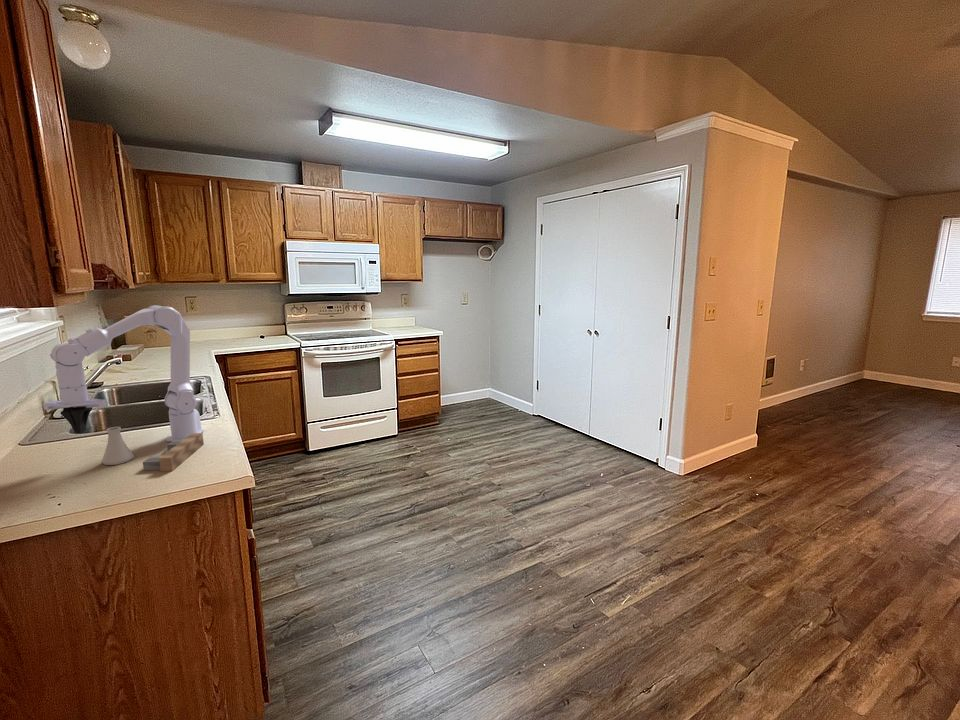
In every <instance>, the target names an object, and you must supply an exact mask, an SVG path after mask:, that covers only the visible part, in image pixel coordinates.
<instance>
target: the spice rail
mask: <svg viewBox="0 0 960 720" xmlns="http://www.w3.org/2000/svg"><path fill="white" fill-rule="evenodd" d="M203 433H204V432H202V433H192V434H190V435H189V436H188V437H186V438H185V439H184V440H173V441H169V443H167V444H166V450H167V452H165V453H164V454H163V455H153V456H148V458H146V459H145V460H143V461H142V466H143V467H142V468H143V471H144V472H145V471H160V472H163V473H164V472H173V471H175V470H176V469H177V468H178V467H179V466H180V465H182V464H183V463H184V462H185V461H186V460H188V459H189V458H190V457H191V456H192V455H193V454H195V453H196V452H197V451H198V450H199V449H200V448H202V447H203V445H204V444H205V443H204V435H203Z"/></svg>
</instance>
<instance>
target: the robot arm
mask: <svg viewBox="0 0 960 720" xmlns="http://www.w3.org/2000/svg"><path fill="white" fill-rule="evenodd" d="M182 316H183V315H182V314H181V313H180V312H179V311H178V310H176V309H175V308H173V307H172V306H161V305H157V304H154V305H150V306H148V307H147V308H141V310H138V311H136V312H134V313H133V314H130V315H129V316H127V317H124V318H122V319H121V320H119V321H117V322H115V323H114V324H111V325H110V326H108V327H106V328H104V329H103V328H99V327H96V328H91V327H90V328H87V329H85V332H84V333H83V334H80V335H79V336H77V337H74V338H71V337H70V338H68V339H66V341H67V342H63V343H62V342H61V343H58V344H56V345H55V346H54V347H52V349H51V353H50V354H49V356H50V359H52V360H53V361H54V362H55V363H54V364H55V369H56V370H55V373H56V379H57V385H58V391H59V397H60V399H59V400H54V401H53V400H50V401H45V402H43V404H42V405H43V410H46V411H47V410H48V411H49V410H56V409H57V410H59V409H61V411H60V415H61V416H62V417H63V418H64V419H65V420H66V421H67V422H68V423H69V425H70V426H71V428H72V429H73V432H74V434H82V433H85V432H86V430H87V429H86V428H87V422H88V418H89V417H90V416H89V415H90V413H91V412H92V410H93V408H99V409H101V408H106V407H107V406H108V401H107V399H103V398H102V399H100V398H98V399H96V398H89V394H88V386H87V381H86V376H85V369H84V368H83V367H84V366H83V361H84V360H85V357H89V356H92V354H95V353H98V352H99V351H101V350H102V349H105V348H106V347H109V346H110V345H112V342H113V339H115V338H116V337H119V336H121V335H123V334H126V333H128V332H129V331H132V330H134V329H136V328H138V327H141V326H155V327H158V328H160V329H162V330H163V331H165V332H166V333H167V334H168V335H169V336H170V383H169V385H168V387H167V392H166V394H165V396H164V399H163V400H164V404H165V406H166V407H168V408H169V409H168V418H169V427H170V434H171V436H170V437H168V438H167V439H166V440H165V441H166V442H171V441H173V440H184V439H185V438H186V437H188V436H189V435H190V434H192V433H204V432H205V429H202V426H201V415H200V412H199V411H198V409H196V407H197V403H198V402H197V401H198V400H197V398H196V397H195V395H194V394H195V393H194V389H193V387H192V385H191V382H190V381H191V379H190V378H191V375H190V374H191V373H190V370H191V369H190V368H191V367H190V366H191V359H190V358H191V331H190V330H191V329H190V328H189V327H188V325H187V323H186V321H185V320H184V319H183V317H182Z"/></svg>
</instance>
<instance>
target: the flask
mask: <svg viewBox="0 0 960 720" xmlns="http://www.w3.org/2000/svg"><path fill="white" fill-rule="evenodd" d="M105 430H106V432H107V436H108V437H107V443H106V447H105V450H104V454H103V456H102V460H101V463H102V464H103V465H104V466H115V465H116V466H117V465H120V464H124V463H127V462H130V461H131V460H133V459H135V456H134V454H133V453H132V451H131V449H129V447H128V446H127V444H126V442H125V441H124V439H123V437H122V435H121V430H122V428H121V426H112V427H108V428H106V429H105Z"/></svg>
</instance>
